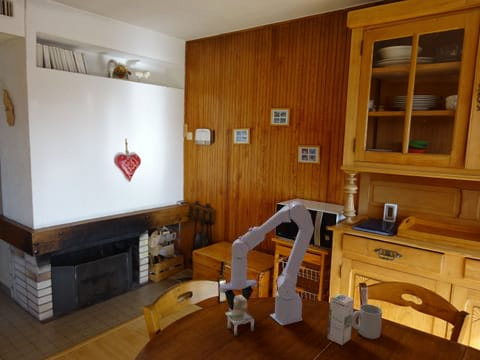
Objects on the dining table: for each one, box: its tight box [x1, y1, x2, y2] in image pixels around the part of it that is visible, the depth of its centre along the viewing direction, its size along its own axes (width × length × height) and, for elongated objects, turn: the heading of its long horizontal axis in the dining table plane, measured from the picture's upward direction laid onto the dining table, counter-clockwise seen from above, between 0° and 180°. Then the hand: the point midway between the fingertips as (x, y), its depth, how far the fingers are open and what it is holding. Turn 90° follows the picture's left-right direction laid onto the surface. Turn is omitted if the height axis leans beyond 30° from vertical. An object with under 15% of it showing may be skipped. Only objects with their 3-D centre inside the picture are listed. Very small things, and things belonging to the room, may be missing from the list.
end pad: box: [224, 311, 249, 322], centre depth 131 cm, size 7×7×1 cm
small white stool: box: [227, 311, 255, 336], centre depth 122 cm, size 8×6×4 cm
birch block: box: [228, 294, 248, 316], centre depth 130 cm, size 5×5×5 cm
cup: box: [352, 303, 383, 340], centre depth 121 cm, size 7×10×9 cm
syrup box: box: [326, 293, 355, 346], centre depth 117 cm, size 6×6×14 cm
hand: (237, 307), depth 131 cm, fingers closed on birch block, 5 cm apart
